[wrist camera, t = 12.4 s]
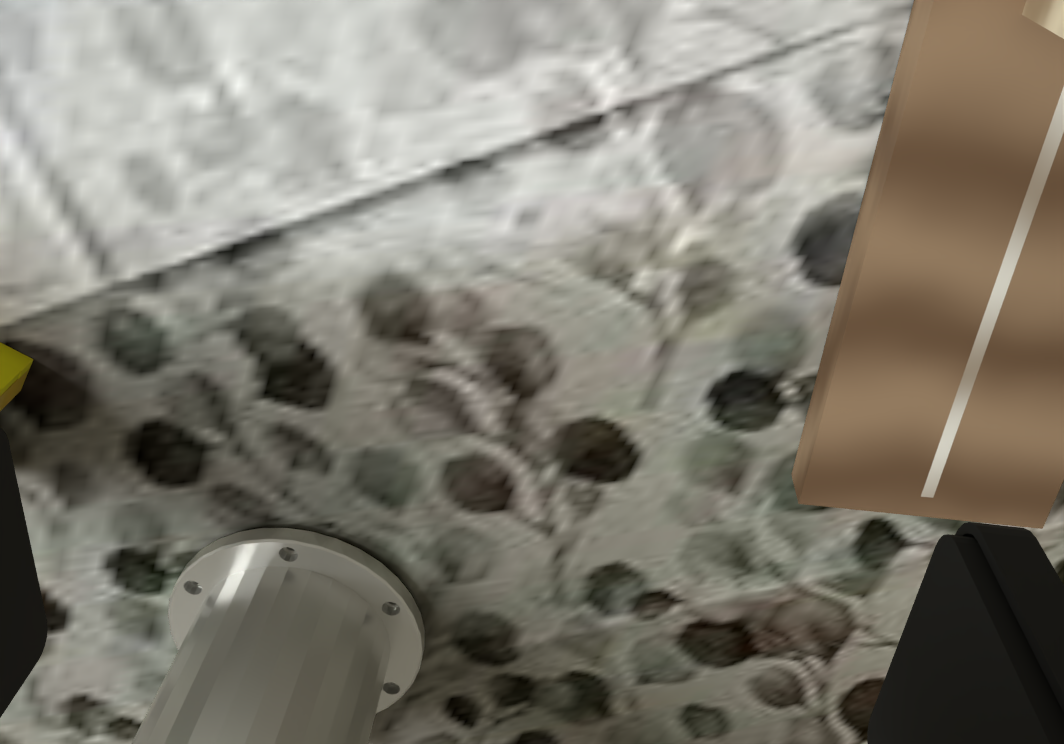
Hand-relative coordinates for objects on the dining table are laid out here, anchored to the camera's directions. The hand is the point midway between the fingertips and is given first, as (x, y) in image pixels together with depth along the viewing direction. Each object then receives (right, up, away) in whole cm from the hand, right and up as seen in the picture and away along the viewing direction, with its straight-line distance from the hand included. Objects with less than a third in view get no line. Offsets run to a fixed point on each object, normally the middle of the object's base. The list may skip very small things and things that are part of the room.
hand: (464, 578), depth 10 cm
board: (+18, +9, +25) cm, 32 cm away
